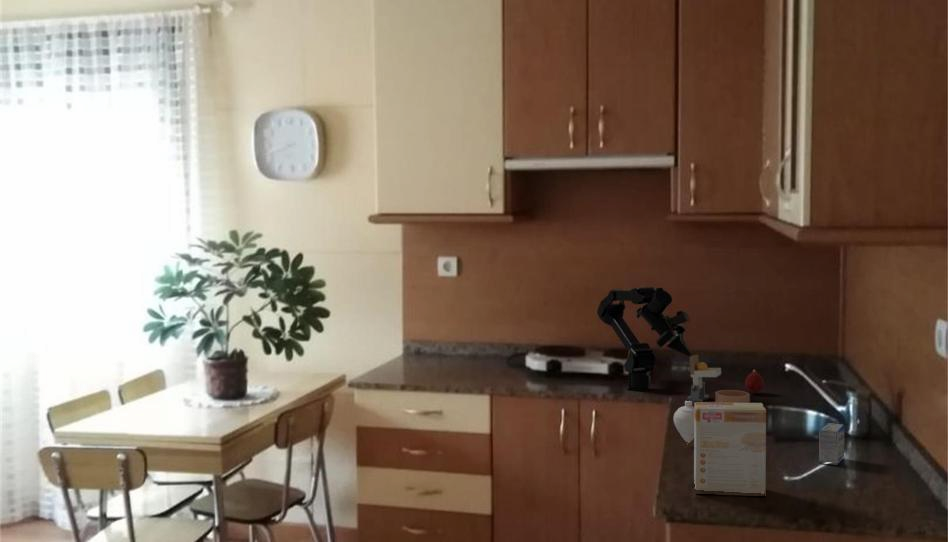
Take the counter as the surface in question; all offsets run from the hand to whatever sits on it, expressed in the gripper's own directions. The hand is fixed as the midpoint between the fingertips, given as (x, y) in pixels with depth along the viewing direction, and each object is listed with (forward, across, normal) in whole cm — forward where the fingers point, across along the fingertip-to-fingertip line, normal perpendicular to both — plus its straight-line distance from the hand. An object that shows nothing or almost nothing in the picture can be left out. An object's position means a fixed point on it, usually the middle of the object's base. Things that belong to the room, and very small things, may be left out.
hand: (690, 355), depth 302 cm
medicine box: (+45, -58, -23) cm, 77 cm away
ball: (+6, -2, 0) cm, 6 cm away
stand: (+12, -2, +8) cm, 14 cm away
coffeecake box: (+32, -92, -10) cm, 98 cm away
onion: (+23, +13, -3) cm, 26 cm away
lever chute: (+11, -2, +3) cm, 12 cm away
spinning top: (+20, -59, +1) cm, 62 cm away
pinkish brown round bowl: (+20, -3, 0) cm, 20 cm away
